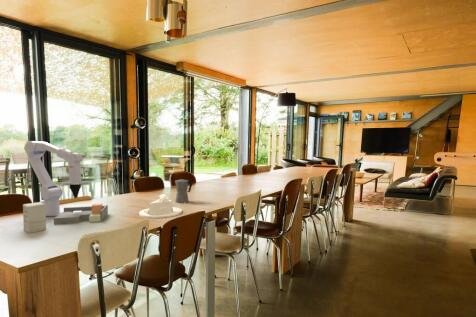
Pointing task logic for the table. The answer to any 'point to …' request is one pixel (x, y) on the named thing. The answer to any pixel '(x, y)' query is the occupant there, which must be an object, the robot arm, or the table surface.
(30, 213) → the supplement box
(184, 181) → the coffeepot
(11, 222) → the table surface
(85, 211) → the board
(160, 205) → the dish
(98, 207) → the block
